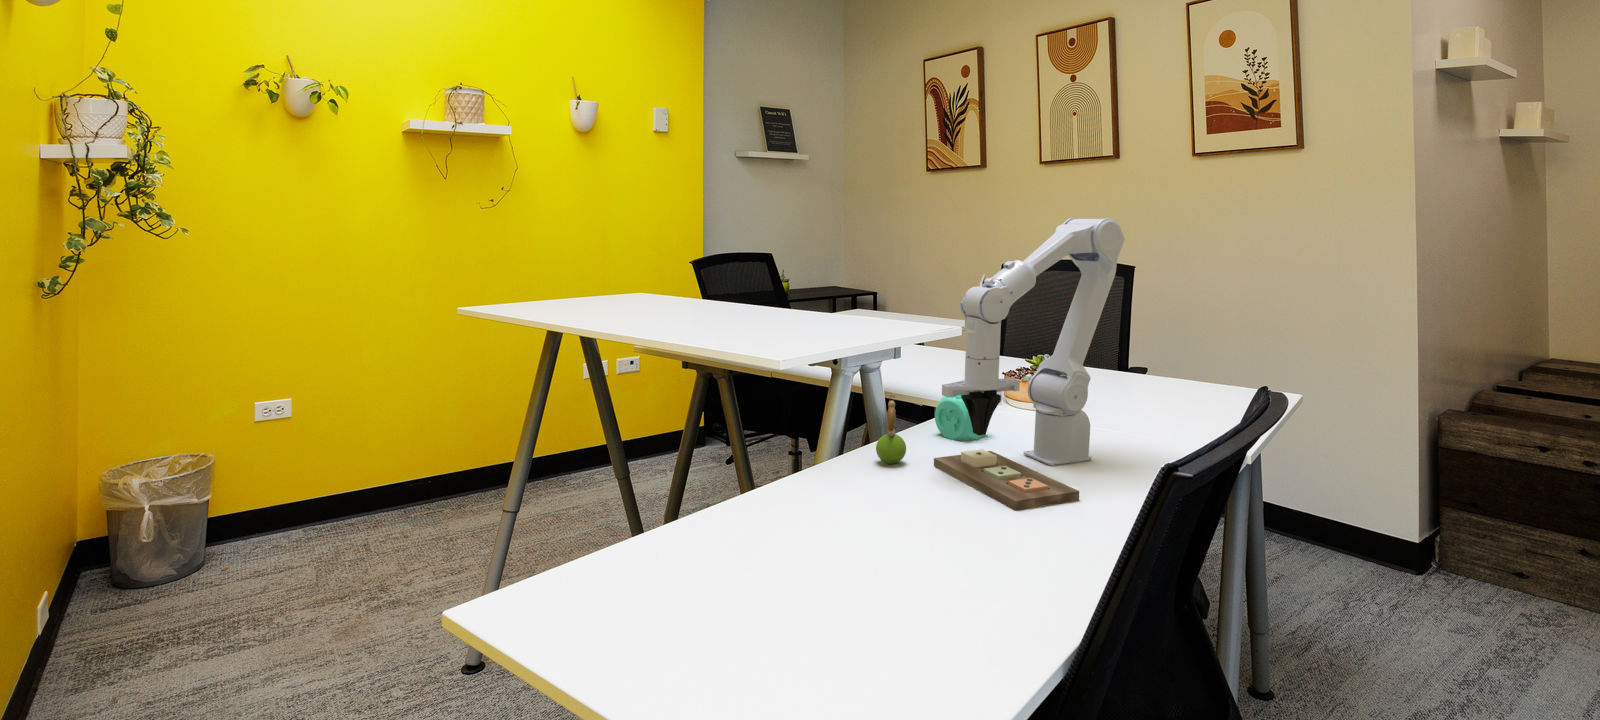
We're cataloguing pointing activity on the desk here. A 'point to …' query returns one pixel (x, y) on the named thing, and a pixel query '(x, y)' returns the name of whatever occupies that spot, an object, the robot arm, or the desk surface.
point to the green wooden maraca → (891, 439)
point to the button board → (1001, 488)
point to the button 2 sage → (1002, 472)
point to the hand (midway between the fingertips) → (979, 433)
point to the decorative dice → (954, 419)
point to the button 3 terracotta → (1028, 485)
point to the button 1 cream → (978, 458)
